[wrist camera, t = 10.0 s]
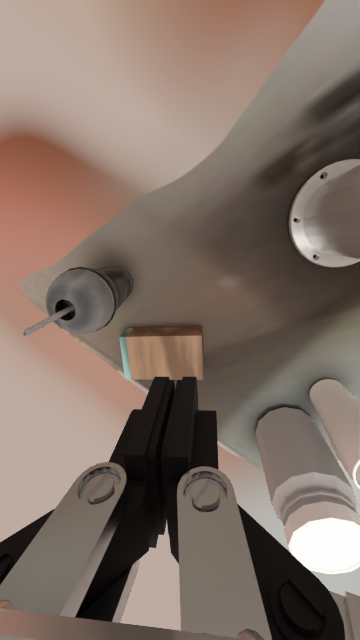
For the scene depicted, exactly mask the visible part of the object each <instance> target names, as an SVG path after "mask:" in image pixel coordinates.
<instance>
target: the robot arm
mask: <svg viewBox="0 0 360 640" xmlns="http://www.w3.org/2000/svg"><path fill="white" fill-rule="evenodd" d="M320 175H322V176H323V178H322V179H320ZM294 218H296V219H297V221H296V222H294ZM288 224H289V234H290V237H291V240H292V243H293V244H294V246H295V248H296V250H297V251H298V252H299V253H300V254H301V255H302V256H303V257H304V258H306V259H307V260H308V261H310V262H312V263H315V264H317V265H321V266H326V267H344V266H348V265H352V264H354V263H357V262H359V261H360V159H348V160H342V161H338V162H335V163H333V164H330V165H328V166H326V167H324V168H323V169H321V170H319V171H318V172H317V173H315V174H314V175H313V176H311V177H310V178H309V179H308V180H307V181H306V182H305V183H304V184H303V186H302V187H301V189H300V190H299V191H298V193H297V194H296V197H295V199H294V201H293V203H292V206H291V209H290V213H289V222H288ZM314 254H315V255H316V256H315V258H313V255H314ZM217 448H218V446H217V419H216V411H200V410H198V392H197V377H183V378H182V380H178V381H177V385H176V389H175V385H174V380H169V377H155V378H154V380H153V382H152V385H151V387H150V390H149V392H148V395H147V398H146V400H145V403H144V405H143V407H142V410H139V409H135V410H133V411H132V412H131V414H130V416H129V418H128V420H127V423H126V425H125V427H124V429H123V431H122V434H121V436H120V438H119V440H118V442H117V445H116V447H115V449H114V451H113V454H112V456H111V458H110V460H109V462H105V463H99V464H96V465H94V466H92V467H90V468H88V469H87V470H85V471H84V472H83V473H82V474H81V475H80V476H79V477H78V478H77V479H76V481H75V482H74V483H73V485H72V486H71V488H70V489H69V491H68V492H67V493H66V495H65V496H64V497H63V499H62V500H61V501H60V503H59V504H58V506H57V507H56V508H55V509H54V510H52V511H50V512H49V513H47V514H46V515H44V516H42V517H41V518H39V519H38V520H36V521H34V522H33V523H31V524H29V525H28V526H26V527H24V528H23V529H21V530H20V531H18V532H16V533H15V534H13V535H12V536H10V537H8V538H7V539H5V540H4V541H2V542H0V640H360V596H357V595H355V594H352V593H349V592H345V597H344V596H341V595H339V594H336V593H333V592H331V591H328V589H327V588H326V587H325V586H324V585H323V584H322V583H321V582H320V580H319V579H318V578H317V577H316V576H315V575H314V574H312V573H311V572H310V571H309V570H308V569H307V568H306V567H305V566H304V565H303V564H302V563H301V562H300V561H298V560H297V559H296V558H295V557H294V556H293V555H292V554H291V553H290V552H289V551H288V550H287V549H285V548H284V547H283V546H282V545H281V544H280V543H279V542H278V541H277V540H276V539H275V538H273V536H271V535H270V534H269V533H268V532H267V531H266V530H265V529H264V528H263V527H262V526H261V525H260V524H258V523H257V522H256V521H255V520H254V519H253V518H252V517H251V516H250V515H249V514H248V513H247V512H246V511H245V510H243V509H242V508H241V507H240V506H239V505H238V504H237V501H236V497H235V493H234V489H233V486H232V484H231V482H230V480H229V479H228V478H227V476H226V475H225V474H224V473H222V472H221V471H219V470H218V449H217ZM166 520H167V524H168V533H169V537H170V547H171V553H172V555H173V556H174V558H175V559H176V561H177V562H178V563H179V574H180V575H179V576H180V607H181V608H180V610H181V631H178V630H170V629H163V628H155V627H147V626H139V625H131V624H122V623H120V621H121V618H122V615H123V612H124V609H125V606H126V603H127V600H128V598H129V594H130V592H131V588H132V586H133V583H134V580H135V577H136V574H137V571H138V566H139V559H140V558H141V557H142V556H143V555H144V554H145V553H147V552H148V551H149V547H153V548H156V544H157V539H158V534H160V535H163V534H164V532H165V527H166Z"/></svg>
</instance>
